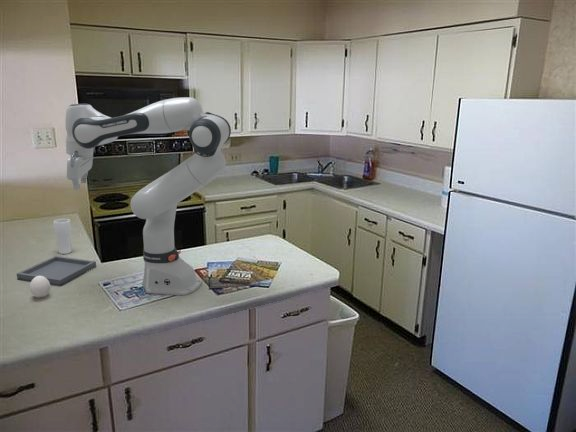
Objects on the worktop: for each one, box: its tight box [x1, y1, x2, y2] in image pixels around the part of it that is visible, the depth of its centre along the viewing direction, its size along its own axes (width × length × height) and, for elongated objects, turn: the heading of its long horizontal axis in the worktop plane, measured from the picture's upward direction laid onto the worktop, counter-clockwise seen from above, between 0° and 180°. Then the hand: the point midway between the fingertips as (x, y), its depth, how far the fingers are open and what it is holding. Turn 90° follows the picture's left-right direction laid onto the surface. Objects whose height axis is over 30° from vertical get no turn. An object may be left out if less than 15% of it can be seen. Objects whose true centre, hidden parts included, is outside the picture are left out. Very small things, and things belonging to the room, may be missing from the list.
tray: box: [16, 255, 97, 287], centre depth 176 cm, size 20×20×2 cm
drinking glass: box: [52, 218, 73, 255], centre depth 196 cm, size 7×7×15 cm
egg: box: [29, 276, 51, 298], centre depth 155 cm, size 6×6×8 cm
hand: (80, 185), depth 162 cm, fingers open, 8 cm apart
